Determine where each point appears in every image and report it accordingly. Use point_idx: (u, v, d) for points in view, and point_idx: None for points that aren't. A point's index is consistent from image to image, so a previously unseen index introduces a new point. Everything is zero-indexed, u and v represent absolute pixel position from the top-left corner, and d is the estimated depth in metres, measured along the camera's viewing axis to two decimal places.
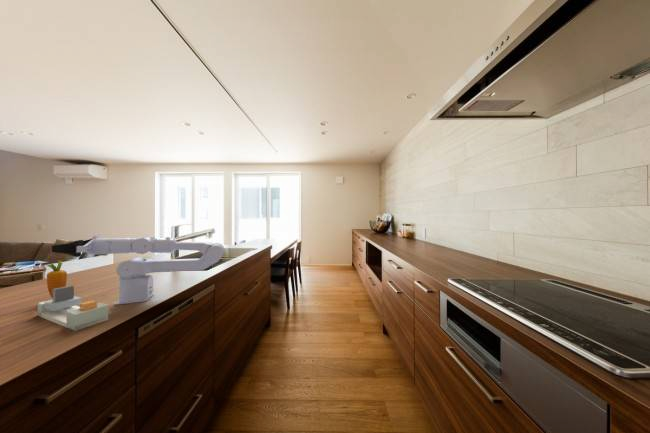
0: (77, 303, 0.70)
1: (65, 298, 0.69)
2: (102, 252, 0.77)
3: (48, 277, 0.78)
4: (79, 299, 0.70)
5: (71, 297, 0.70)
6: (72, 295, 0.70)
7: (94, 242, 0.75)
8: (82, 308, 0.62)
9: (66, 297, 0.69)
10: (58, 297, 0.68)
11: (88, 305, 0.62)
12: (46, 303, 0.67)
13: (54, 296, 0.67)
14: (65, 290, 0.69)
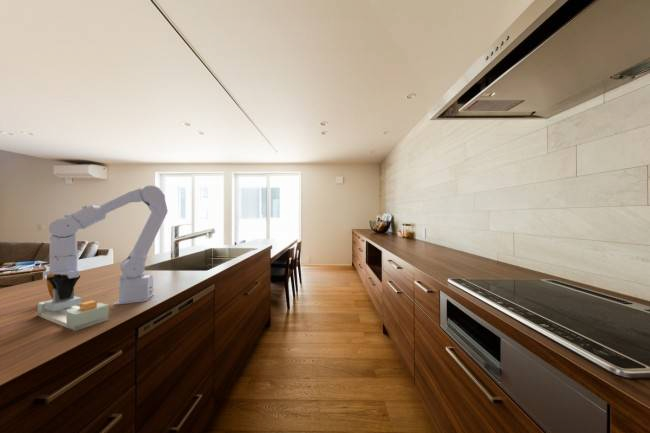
0: (77, 303, 0.70)
1: None
2: (75, 261, 0.70)
3: None
4: (79, 299, 0.70)
5: (71, 297, 0.70)
6: (72, 295, 0.70)
7: (59, 270, 0.67)
8: (82, 308, 0.62)
9: None
10: (58, 297, 0.68)
11: (88, 305, 0.62)
12: (46, 303, 0.67)
13: (54, 296, 0.67)
14: None
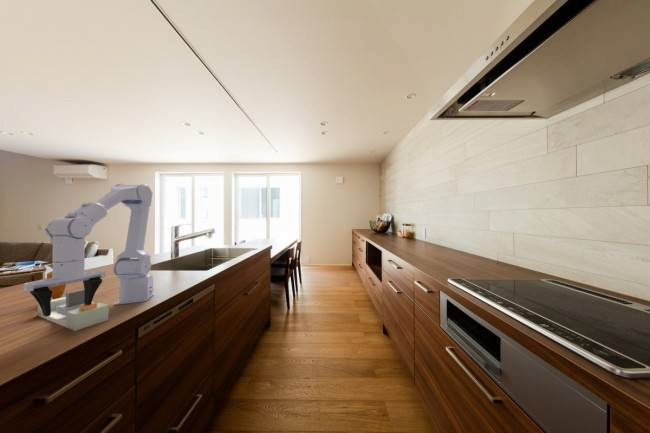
0: None
1: (79, 302, 0.66)
2: (61, 270, 0.57)
3: (48, 277, 0.78)
4: None
5: None
6: None
7: None
8: (82, 310, 0.62)
9: (80, 301, 0.66)
10: (71, 302, 0.64)
11: (88, 307, 0.62)
12: (59, 307, 0.64)
13: (67, 300, 0.64)
14: (79, 293, 0.66)
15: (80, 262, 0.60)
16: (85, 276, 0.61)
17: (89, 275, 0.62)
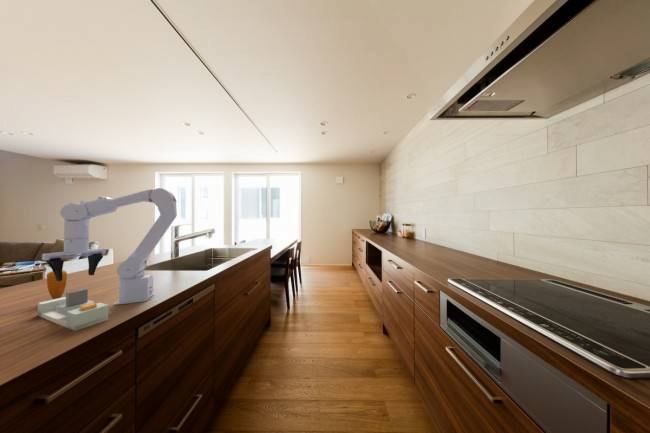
0: None
1: (79, 302, 0.66)
2: (71, 245, 0.72)
3: (48, 277, 0.78)
4: None
5: (85, 301, 0.67)
6: (86, 299, 0.67)
7: (64, 251, 0.73)
8: (82, 310, 0.62)
9: (80, 301, 0.66)
10: (71, 302, 0.64)
11: (88, 307, 0.62)
12: (59, 307, 0.64)
13: (67, 300, 0.64)
14: (79, 293, 0.66)
15: (85, 240, 0.75)
16: (89, 251, 0.76)
17: (92, 251, 0.77)
